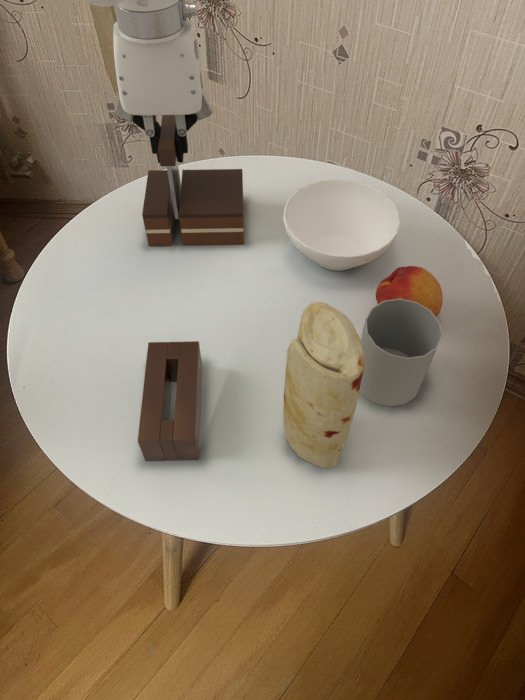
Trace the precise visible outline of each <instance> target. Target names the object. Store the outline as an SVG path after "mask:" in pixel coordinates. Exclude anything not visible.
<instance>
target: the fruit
mask: <svg viewBox="0 0 525 700" xmlns="http://www.w3.org/2000/svg"><path fill="white" fill-rule="evenodd" d="M375 299H376V303H377V305H378V304H380V303H381V302H383V301H386V300H394V299H404V300H409V301H414V302H417V303H419V304H421V305H422V306H424V307H426V308H427V309H429V310H431V312H432V313H433V314H434V315H435V317H436V318H437V317H438V315H439V314H440V312H441V309H442V308H443V301H444V296H443V290H442V286H441V284H440V282H439V281H438V279H437V278H436V277H435V276H434V275H433V274H432V273H431V272H430V271H428V270H427V269H425V268H423V267H421V266H417V265H408V266H407V265H406V266H399V267H397V268H395V269H394V270H393V271H392V273H390V274H389V275H388V276H387V277H385V278H383V280H381V281H380V282H379V283H378V285H377V287H376V291H375Z"/></svg>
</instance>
